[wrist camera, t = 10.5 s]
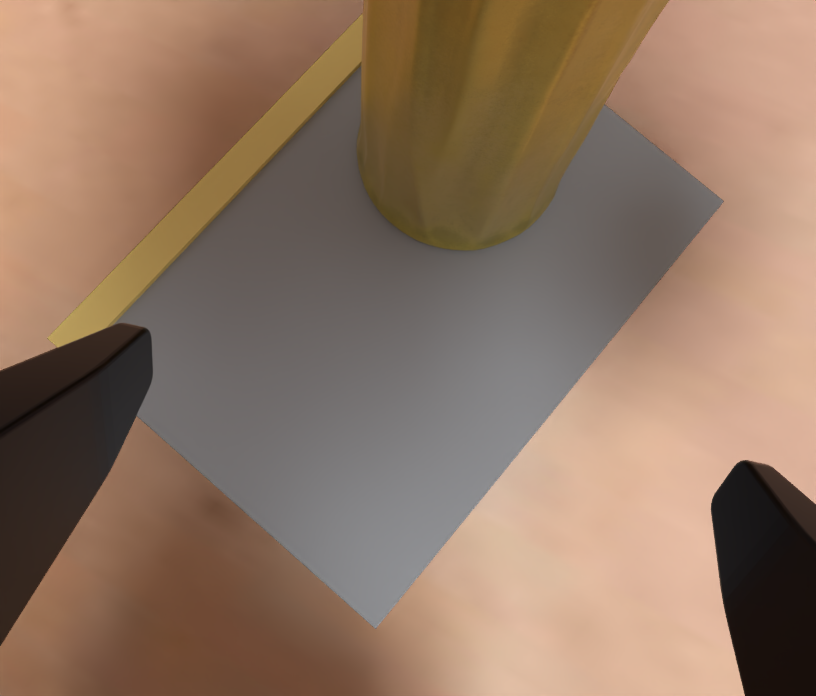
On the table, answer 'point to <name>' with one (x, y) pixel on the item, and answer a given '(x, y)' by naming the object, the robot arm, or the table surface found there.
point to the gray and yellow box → (377, 329)
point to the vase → (483, 107)
